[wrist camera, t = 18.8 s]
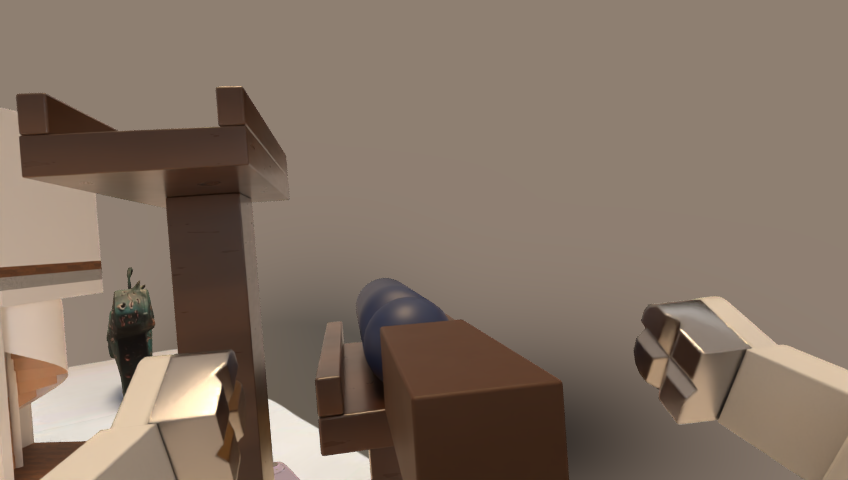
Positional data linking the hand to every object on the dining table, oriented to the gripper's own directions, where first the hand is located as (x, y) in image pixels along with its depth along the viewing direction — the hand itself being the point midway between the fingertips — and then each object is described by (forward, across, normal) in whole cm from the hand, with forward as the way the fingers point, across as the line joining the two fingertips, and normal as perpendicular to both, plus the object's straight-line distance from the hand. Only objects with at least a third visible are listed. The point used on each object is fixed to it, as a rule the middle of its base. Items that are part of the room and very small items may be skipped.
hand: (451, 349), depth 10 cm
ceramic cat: (+58, +36, +55) cm, 88 cm away
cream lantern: (+31, +34, +39) cm, 60 cm away
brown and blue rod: (+6, 0, +7) cm, 10 cm away
